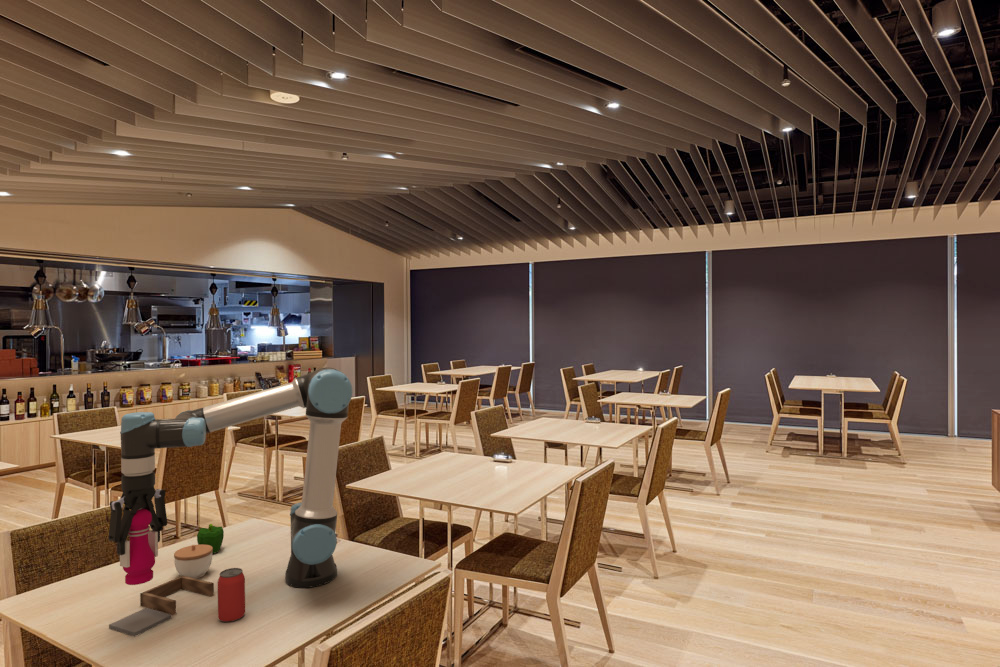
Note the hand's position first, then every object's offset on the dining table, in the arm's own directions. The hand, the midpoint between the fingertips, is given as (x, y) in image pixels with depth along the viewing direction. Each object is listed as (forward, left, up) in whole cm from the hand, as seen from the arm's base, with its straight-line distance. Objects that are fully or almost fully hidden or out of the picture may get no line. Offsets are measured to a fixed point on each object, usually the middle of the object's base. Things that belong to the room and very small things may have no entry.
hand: (139, 560), depth 156 cm
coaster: (0, 0, -16) cm, 16 cm away
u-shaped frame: (+3, -13, -16) cm, 21 cm away
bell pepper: (+26, -43, -17) cm, 53 cm away
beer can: (-19, -12, -17) cm, 28 cm away
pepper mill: (0, 0, -5) cm, 5 cm away
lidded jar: (+14, -27, -17) cm, 35 cm away
